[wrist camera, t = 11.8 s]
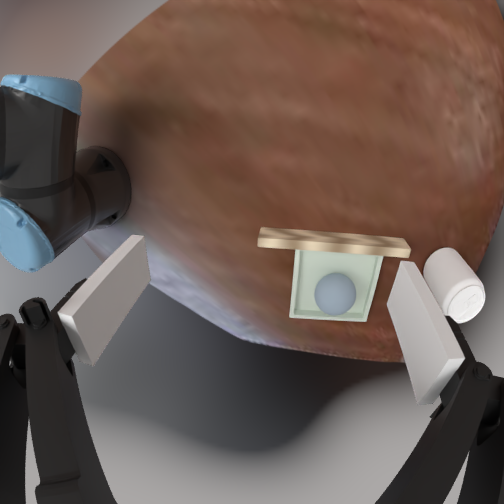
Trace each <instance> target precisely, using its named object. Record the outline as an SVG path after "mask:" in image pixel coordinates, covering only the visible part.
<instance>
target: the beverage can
mask: <svg viewBox="0 0 504 504" xmlns="http://www.w3.org/2000/svg"><path fill="white" fill-rule="evenodd" d="M423 274H424V278H425V280H426V282H427V284H428V286H429V287H430V289H431V291H432V293H433V295H434V296H435V298H436V300H437V302H438V304H439V306H440V308H441V310H442V311H443V313H444V315H445V316H450V317H451V318H452V319H453V320H454V321H455V322H456V323H463V322H467V321H468V320H470V319H472V318H473V317H475V316H476V315H477V314H478V313H479V311H480V310H481V309H482V307H483V305H484V302H485V292H484V286H483V284H482V282H481V281H480V280H479V278H478V277H477V276H476V274H475V273H474V272H473V271H472V269H471V268H470V267H469V266H468V264H467V263H466V262H465V261H464V259H463V258H462V257H461V256H460V255H459V253H458V252H457V251H456V250H454V249H452V248H441V249H439V250H437V251H435V252H434V253H433V254H432V255H431V256H430V257H429V258H428V259H427V261H426V263H425V266H424V270H423Z"/></svg>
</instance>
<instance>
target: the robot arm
mask: <svg viewBox="0 0 504 504" xmlns="http://www.w3.org/2000/svg"><path fill="white" fill-rule="evenodd" d="M81 98H82V87H81V85H80V84H79V83H78V82H77V81H74V80H70V79H65V78H57V77H48V76H34V75H29V76H28V75H5V76H4V77H3V80H2V81H1V87H0V252H1V253H2V255H3V256H4V257H5V258H6V260H8V261H9V262H10V263H11V264H12V265H13V266H14V267H16V268H18V269H19V270H21V271H24V272H35V271H38V270H39V269H40V268H42V267H43V266H45V265H46V264H48V263H51V262H52V261H53V260H54V259H55V258H56V257H57V256H58V255H59V254H60V253H62V252H63V251H64V250H65V249H66V248H68V247H69V246H70V245H71V244H72V243H74V242H75V241H76V240H77V239H78V238H80V237H81V236H82V235H83V234H84V233H86V232H87V231H91V230H96V229H101V228H106V227H108V226H110V225H112V224H114V223H115V222H116V221H118V220H119V219H120V218H121V217H122V216H123V215H124V214H125V212H126V211H127V209H128V206H129V203H130V199H131V184H130V179H129V175H128V173H127V170H126V168H125V166H124V165H123V163H122V162H121V160H120V159H119V158H118V157H117V156H116V155H115V154H114V153H113V152H111V151H110V150H108V149H106V148H103V147H98V146H93V147H88V148H85V149H82V150H80V151H78V152H76V148H77V137H78V128H79V119H80V116H81V111H80V108H81ZM150 281H151V278H150V272H149V266H148V259H147V252H146V245H145V237H144V236H140V235H131V236H130V237H129V238H128V239H127V240H126V241H125V242H124V243H123V244H122V245H121V246H120V247H119V248H118V249H117V250H116V251H115V252H114V253H113V254H112V255H111V256H110V257H109V258H108V259H107V260H106V261H105V262H104V263H103V264H102V265H101V266H100V267H99V268H98V269H97V270H96V271H95V272H94V273H93V274H92V275H91V276H90V277H89V278H88V279H86V278H85V279H83V280H82V281H80V282H78V283H77V284H75V286H74V287H73V288H72V289H71V290H70V292H68V293H67V294H66V295H65V297H63V298H62V299H61V300H60V302H59V303H58V304H57V305H56V306H55V307H54V308H53V309H52V310H51V312H50V311H49V309H48V306H47V303H46V301H45V300H44V299H43V298H39V297H37V298H32V299H30V300H27V301H26V302H24V303H23V304H22V306H21V307H20V309H19V313H20V315H21V317H22V319H23V322H24V323H23V324H22V323H17V322H16V320H15V317H14V316H13V315H12V314H4V315H1V316H0V504H26V498H25V460H26V441H27V430H28V420H30V427H31V435H32V441H33V447H34V452H35V458H36V463H37V468H38V472H39V476H40V484H39V485H38V486H37V487H36V489H35V495H36V500H37V504H117V502H116V501H115V499H114V497H113V495H112V492H111V490H110V487H109V485H108V483H107V480H106V477H105V475H104V472H103V470H102V467H101V464H100V462H99V458H98V456H97V453H96V450H95V447H94V444H93V440H92V437H91V434H90V431H89V427H88V424H87V420H86V416H85V413H84V409H83V405H82V401H81V397H80V393H79V388H78V383H77V379H76V373H75V368H74V363H73V361H72V359H71V358H72V356H73V355H74V353H76V355H77V357H78V359H79V361H80V362H82V363H85V364H88V365H91V366H94V365H95V363H96V362H97V360H98V358H99V357H100V355H101V354H102V352H103V350H104V349H105V347H106V346H107V344H108V343H109V341H110V339H111V338H112V337H113V335H114V333H115V332H116V330H117V329H118V327H119V326H120V324H121V323H122V321H123V320H124V318H125V317H126V315H127V314H128V312H129V311H130V309H131V308H132V306H133V305H134V303H135V302H136V301H137V299H138V298H139V296H140V295H141V293H142V292H143V290H144V289H145V288H146V286H147V285H148V283H149V282H150ZM387 307H388V310H389V313H390V315H391V318H392V321H393V324H394V327H395V330H396V333H397V336H398V339H399V342H400V346H401V349H402V352H403V355H404V359H405V362H406V365H407V369H408V372H409V376H410V379H411V383H412V386H413V390H414V394H415V398H416V402H417V405H425V404H433V403H434V401H435V400H436V399H437V397H438V396H439V395H440V398H441V401H442V403H441V404H440V405H439V406H438V408H437V409H436V410H435V411H434V412H433V413H432V415H431V416H430V417H431V418H432V419H431V421H430V423H429V425H428V426H427V428H426V430H425V432H424V433H423V435H422V437H421V438H420V440H419V442H418V443H417V445H416V447H415V448H414V450H413V451H412V453H411V455H410V456H409V458H408V459H407V461H406V462H405V464H404V465H403V467H402V468H401V469H400V471H399V472H398V474H397V475H396V477H395V478H394V479H393V481H392V482H391V484H390V485H389V486H388V487H387V489H386V490H385V492H384V493H383V494H382V495H381V496H380V498H379V499H378V500H377V501H376V503H375V504H443V502H444V501H445V499H446V497H447V495H448V494H449V492H450V490H451V488H452V486H453V484H454V482H455V480H456V478H457V476H458V474H459V472H460V470H461V468H462V466H463V463H464V461H465V459H466V457H467V454H468V452H469V456H468V461H467V467H466V471H465V475H464V480H463V484H462V488H461V492H460V495H459V499H458V502H457V504H504V378H502V377H497V376H493V375H492V372H491V370H490V369H489V368H488V367H487V366H486V365H485V364H483V363H481V362H476V360H475V358H474V356H473V354H472V352H471V349H470V347H469V345H468V343H467V341H466V340H465V337H464V335H463V333H461V330H460V328H459V326H458V324H457V323H456V322H455V321H454V320H453V319H452V318H451V317H450V316H444V314H443V312H442V310H441V308H440V306H439V305H438V303H437V301H436V299H435V297H434V296H433V294H432V292H431V290H430V288H429V287H428V285H427V283H426V282H425V280H424V278H423V276H422V275H421V273H420V271H419V270H418V268H417V266H416V265H415V263H414V262H408V261H401V262H400V266H399V269H398V272H397V275H396V278H395V281H394V284H393V287H392V290H391V293H390V296H389V299H388V302H387ZM10 361H11V364H10V366H9V362H10ZM469 450H470V451H469Z"/></svg>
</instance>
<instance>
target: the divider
mask: <svg viewBox="0 0 504 504" xmlns="http://www.w3.org/2000/svg"><path fill="white" fill-rule="evenodd" d="M258 247H267V248H282V249H296V250H310V251H323V252H337V253H351V254H364V255H377V256H391V257H404V258H409V255H410V251H411V249H410V247H409V246H408V244H407V243H406V241H405V240H404V238H395V237H384V236H372V235H361V234H349V233H336V232H323V231H310V230H296V229H281V228H266V227H261V229H260V233H259V236H258Z"/></svg>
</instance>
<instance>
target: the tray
mask: <svg viewBox="0 0 504 504" xmlns="http://www.w3.org/2000/svg"><path fill="white" fill-rule="evenodd" d="M382 260H383V256H377V255H364V254H351V253H337V252H323V251H310V250H296V249H295V260H294V272H293V283H292V293H291V303H290V315H289V317H290V318H304V319H320V320H338V321H361V322H366V320H367V316H368V313H369V310H370V306H371V303H372V299H373V295H374V292H375V288H376V284H377V280H378V276H379V272H380V268H381V264H382ZM331 273H340V274H343V275H345V276H347V277H348V278H350V279H351V280H352V282H353V283H354V285H355V288H356V300H355V303H354V305H353V306H352V308H351V309H350V310H349V311H347V312H346V313H344V314H341V315H336V316H333V315H328V314H326V313H324V312H323V311H321V310H320V309H319V307H318V306H317V304H316V302H315V297H314V293H315V288H316V285H317V283H318V282H319V281H320V280H321V279H322V278H323V277H324V276H326V275H328V274H331Z"/></svg>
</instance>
